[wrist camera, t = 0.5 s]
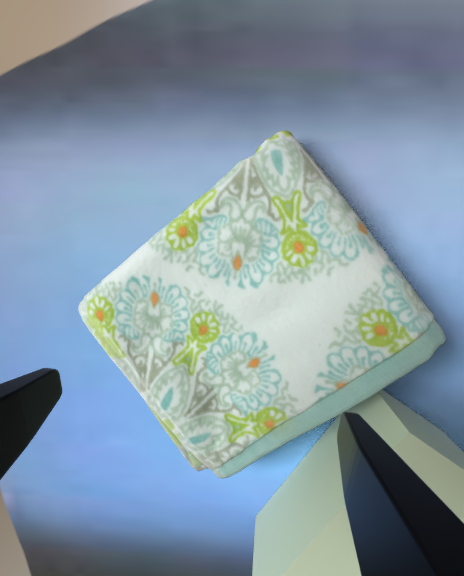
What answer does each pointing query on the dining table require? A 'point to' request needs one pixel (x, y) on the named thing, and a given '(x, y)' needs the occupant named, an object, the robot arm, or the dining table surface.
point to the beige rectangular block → (330, 499)
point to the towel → (259, 312)
